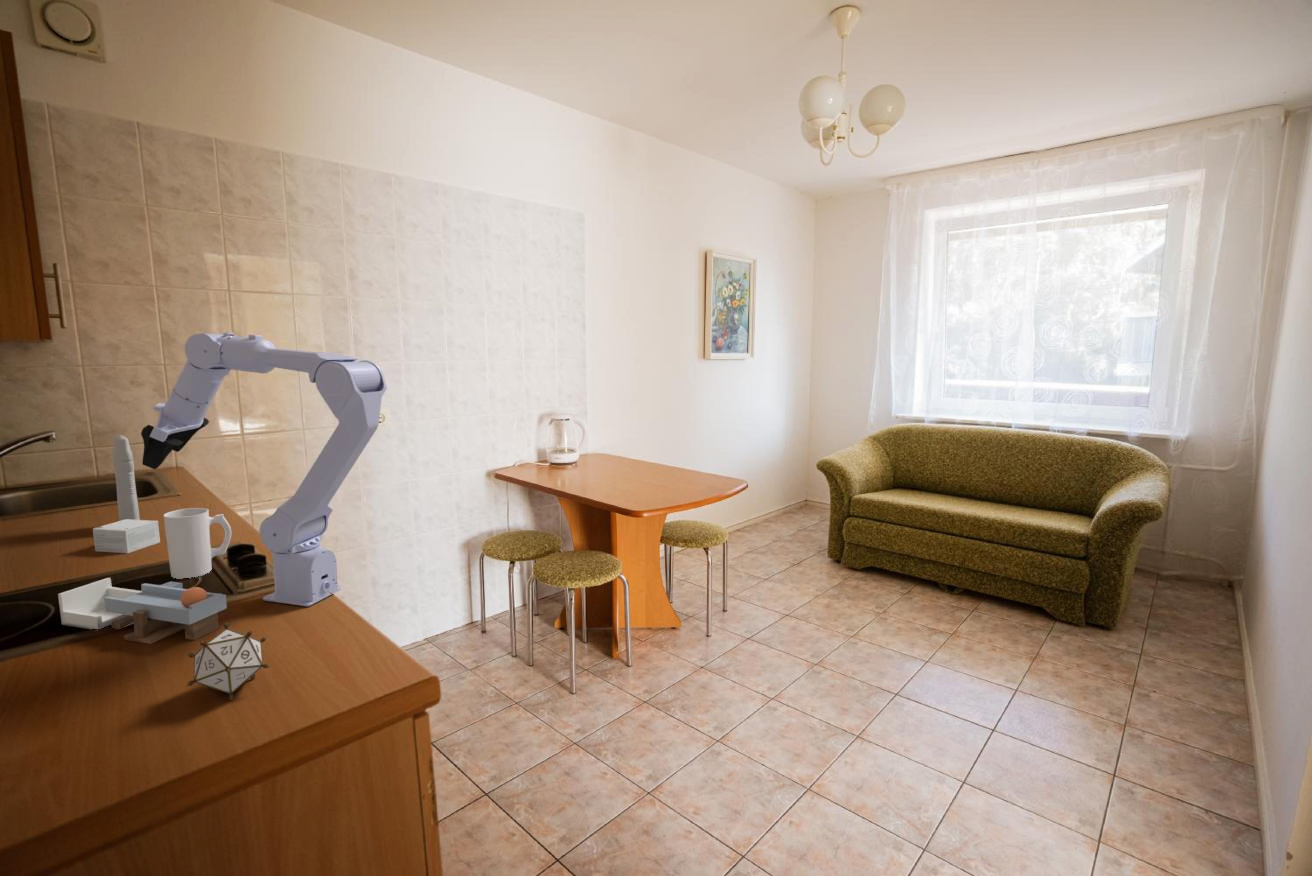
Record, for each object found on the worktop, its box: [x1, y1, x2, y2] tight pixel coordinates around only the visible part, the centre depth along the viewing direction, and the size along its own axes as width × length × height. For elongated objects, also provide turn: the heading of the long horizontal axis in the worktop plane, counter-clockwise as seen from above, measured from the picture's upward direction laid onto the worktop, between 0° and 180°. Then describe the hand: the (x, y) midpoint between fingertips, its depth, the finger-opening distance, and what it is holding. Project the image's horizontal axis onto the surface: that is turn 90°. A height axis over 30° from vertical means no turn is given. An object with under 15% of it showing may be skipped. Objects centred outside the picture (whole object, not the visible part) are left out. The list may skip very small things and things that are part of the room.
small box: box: [92, 519, 161, 554], centre depth 130 cm, size 8×8×5 cm
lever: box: [104, 581, 228, 625], centre depth 95 cm, size 16×10×3 cm, turn 77°
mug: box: [163, 507, 232, 580], centre depth 116 cm, size 10×7×12 cm, turn 128°
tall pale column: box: [112, 434, 141, 521], centre depth 141 cm, size 11×4×22 cm, turn 53°
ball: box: [181, 586, 207, 608], centre depth 92 cm, size 3×3×3 cm
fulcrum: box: [111, 610, 220, 645], centre depth 94 cm, size 15×9×4 cm, turn 77°
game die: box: [186, 622, 270, 702], centre depth 78 cm, size 9×8×10 cm
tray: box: [57, 577, 142, 630], centre depth 97 cm, size 7×7×5 cm
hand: (161, 457), depth 107 cm, fingers open, 7 cm apart
